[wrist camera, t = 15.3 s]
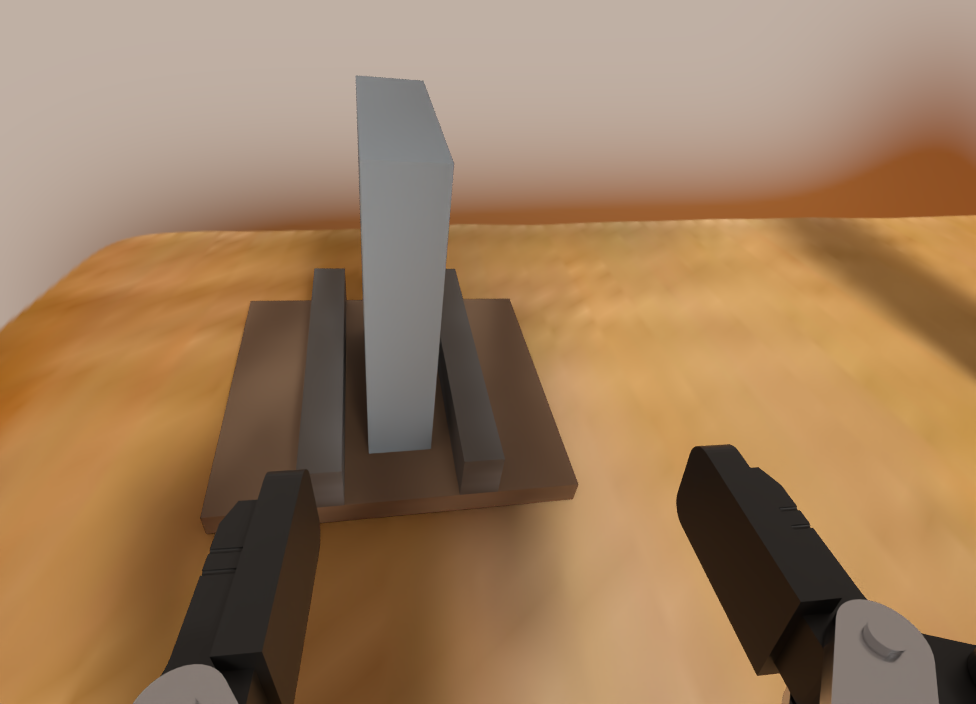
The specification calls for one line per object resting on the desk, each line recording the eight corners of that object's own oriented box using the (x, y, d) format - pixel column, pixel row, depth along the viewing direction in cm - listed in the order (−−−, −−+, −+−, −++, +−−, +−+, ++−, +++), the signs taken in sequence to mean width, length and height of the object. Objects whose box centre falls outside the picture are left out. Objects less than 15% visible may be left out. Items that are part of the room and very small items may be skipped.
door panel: (413, 329, 28) (423, 80, 21) (430, 449, 22) (454, 164, 15) (363, 330, 28) (355, 75, 20) (368, 453, 22) (359, 159, 14)
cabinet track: (506, 312, 32) (514, 269, 30) (572, 499, 23) (590, 452, 21) (253, 316, 29) (244, 268, 27) (206, 533, 20) (186, 483, 18)
